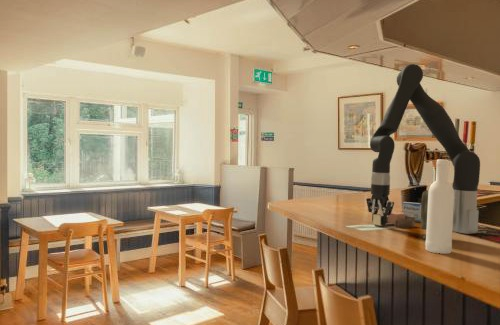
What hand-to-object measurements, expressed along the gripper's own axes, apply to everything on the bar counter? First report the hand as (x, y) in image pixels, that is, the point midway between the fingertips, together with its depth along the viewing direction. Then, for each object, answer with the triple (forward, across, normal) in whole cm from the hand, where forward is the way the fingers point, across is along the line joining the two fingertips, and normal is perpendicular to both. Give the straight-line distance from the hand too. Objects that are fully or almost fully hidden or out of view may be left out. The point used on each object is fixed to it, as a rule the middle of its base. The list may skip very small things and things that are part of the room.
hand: (378, 223), depth 178 cm
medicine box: (+2, +7, -28) cm, 29 cm away
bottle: (+2, -38, +12) cm, 40 cm away
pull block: (+1, 0, -6) cm, 6 cm away
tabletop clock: (+2, -25, -4) cm, 25 cm away
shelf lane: (+2, 0, -1) cm, 2 cm away
